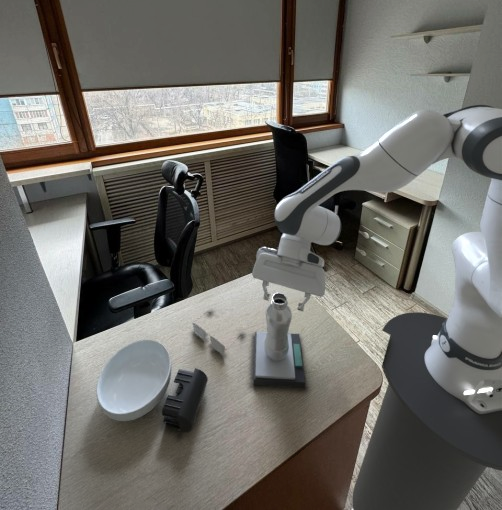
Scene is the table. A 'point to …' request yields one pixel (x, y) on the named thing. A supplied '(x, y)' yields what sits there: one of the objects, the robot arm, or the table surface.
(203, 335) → the eyeglasses
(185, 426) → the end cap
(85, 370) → the table surface
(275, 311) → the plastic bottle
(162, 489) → the table surface
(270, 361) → the scale
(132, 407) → the cereal bowl
